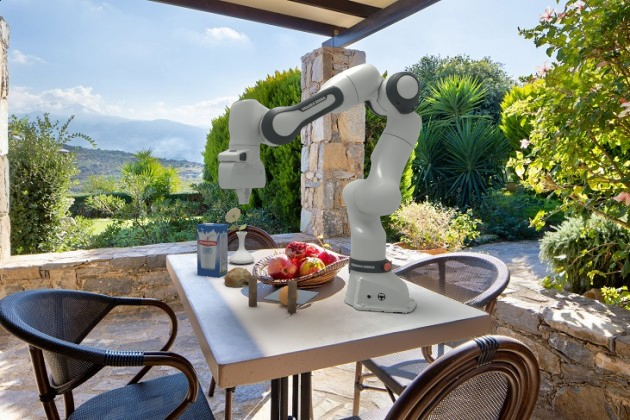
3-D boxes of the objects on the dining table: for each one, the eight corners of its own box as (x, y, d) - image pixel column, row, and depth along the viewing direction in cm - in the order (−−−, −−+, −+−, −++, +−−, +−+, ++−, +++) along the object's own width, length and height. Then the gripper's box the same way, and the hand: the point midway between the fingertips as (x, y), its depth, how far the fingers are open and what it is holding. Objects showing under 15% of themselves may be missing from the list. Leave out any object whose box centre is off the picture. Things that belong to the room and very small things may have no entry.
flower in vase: (249, 259, 190) (249, 206, 188) (258, 264, 180) (258, 208, 178) (221, 261, 184) (221, 206, 182) (229, 266, 174) (229, 208, 172)
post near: (297, 310, 120) (298, 281, 119) (294, 313, 117) (294, 283, 116) (289, 309, 121) (290, 279, 120) (285, 312, 118) (286, 282, 117)
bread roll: (233, 298, 142) (240, 280, 139) (216, 281, 147) (222, 263, 144) (253, 292, 150) (260, 275, 147) (236, 276, 155) (243, 259, 152)
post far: (258, 304, 124) (258, 276, 124) (254, 307, 122) (254, 277, 121) (251, 303, 125) (251, 275, 125) (246, 306, 123) (247, 277, 122)
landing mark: (319, 293, 138) (319, 292, 138) (302, 304, 125) (302, 304, 125) (282, 288, 143) (282, 287, 143) (262, 299, 130) (262, 298, 130)
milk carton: (197, 275, 159) (196, 224, 157) (206, 271, 164) (205, 222, 163) (219, 277, 156) (219, 226, 154) (227, 274, 161) (227, 224, 160)
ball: (305, 297, 126) (297, 281, 124) (294, 310, 121) (286, 294, 119) (290, 297, 129) (282, 281, 127) (280, 309, 125) (272, 293, 123)
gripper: (253, 158, 128) (252, 201, 129) (214, 154, 109) (214, 205, 111) (270, 158, 126) (270, 202, 127) (234, 154, 107) (234, 206, 108)
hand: (243, 204), depth 119 cm, fingers closed
